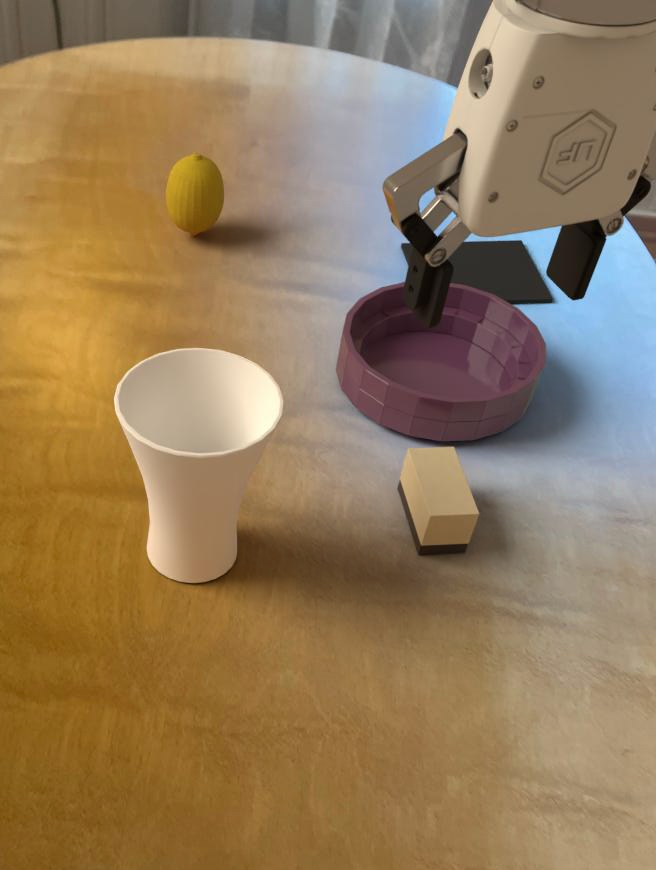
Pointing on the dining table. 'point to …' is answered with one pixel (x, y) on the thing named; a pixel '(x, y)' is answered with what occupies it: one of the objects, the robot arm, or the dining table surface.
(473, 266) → the mat
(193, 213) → the lemon
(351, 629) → the dining table surface
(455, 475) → the eraser
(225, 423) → the cup
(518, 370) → the bowl
